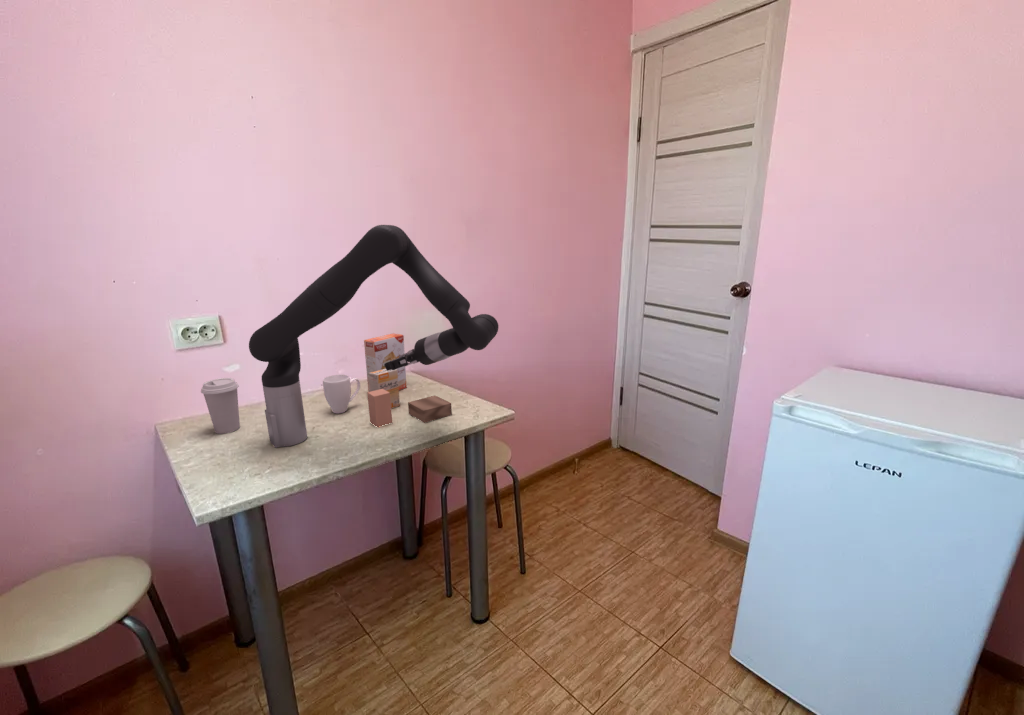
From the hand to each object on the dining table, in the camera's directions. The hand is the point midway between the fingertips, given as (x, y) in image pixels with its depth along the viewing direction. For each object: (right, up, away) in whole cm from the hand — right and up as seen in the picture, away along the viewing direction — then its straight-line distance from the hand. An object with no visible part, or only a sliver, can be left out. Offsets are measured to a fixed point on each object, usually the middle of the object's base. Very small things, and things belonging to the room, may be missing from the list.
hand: (396, 362), depth 136 cm
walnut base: (+8, -17, +14) cm, 23 cm away
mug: (-22, -16, +19) cm, 33 cm away
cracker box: (-12, -12, +36) cm, 39 cm away
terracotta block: (-6, -19, +7) cm, 21 cm away
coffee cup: (-52, -21, +4) cm, 56 cm away
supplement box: (-8, -16, +20) cm, 27 cm away
